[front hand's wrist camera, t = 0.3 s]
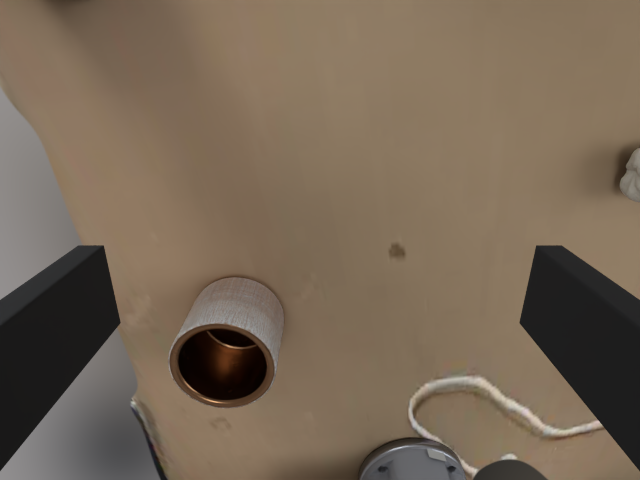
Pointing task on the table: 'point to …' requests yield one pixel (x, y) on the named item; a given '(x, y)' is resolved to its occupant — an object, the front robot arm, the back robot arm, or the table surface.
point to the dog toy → (632, 177)
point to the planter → (229, 344)
